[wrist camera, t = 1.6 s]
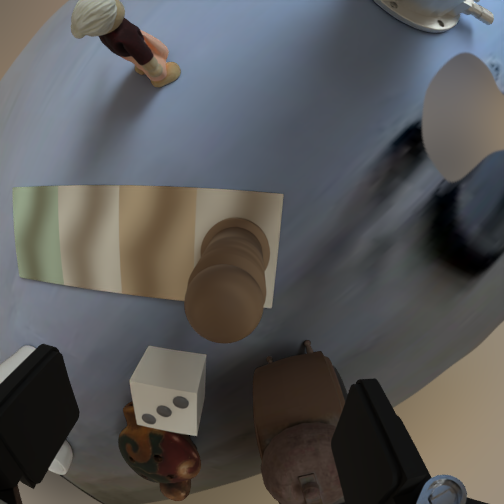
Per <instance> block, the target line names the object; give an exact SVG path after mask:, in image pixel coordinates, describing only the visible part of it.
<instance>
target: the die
mask: <svg viewBox="0 0 504 504" xmlns="http://www.w3.org/2000/svg"><path fill="white" fill-rule="evenodd" d="M205 376H206V354H199V353H191V352H185V351H178V350H172V349H166V348H160V347H154V346H148V348H147V349H146V351H145V353H144V355H143V357H142V358H141V360H140V362H139V364H138V366H137V367H136V369H135V371H134V373H133V375H132V376H131V378H130V380H129V382H130V388H131V394H132V400H133V406H134V411H135V416H136V421H137V425H141V426H146V427H150V428H155V429H160V430H165V431H170V432H175V433H181V434H187V435H193V436H197V434H198V429H199V424H200V419H201V414H202V409H203V404H204V399H205Z"/></svg>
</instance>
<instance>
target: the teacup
mask: <svg viewBox="0 0 504 504" xmlns="http://www.w3.org/2000/svg"><path fill="white" fill-rule="evenodd" d="M72 458H73V453H72V449H71V446H70V445H69V443H68V442H67V440H65V441H64V443H63V445H62V446H61V448H60V450H59V452H58V453H57V455H56V457H55V458H54V460H53V462H52V464H51V465H50V467H49V469H48V470H50V471H52V472H54V473H57V474H60V475H64V474H66V473H67V471H68V469H69V467H70V464H71V462H72Z"/></svg>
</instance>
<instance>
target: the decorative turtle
mask: <svg viewBox="0 0 504 504" xmlns="http://www.w3.org/2000/svg"><path fill="white" fill-rule="evenodd" d="M123 413H124V416H125V418H126V421H127V427H126V428H125V429H124V430H122V432H121V433H120V435H119V439H118V443H119V449H120V452H121V454H122V456H123V458H124V460H125V461H126V463H127V464H128V465H129V466H130V467H131V468H132V469H133V470H134V471H135V472H136V473H137V474H138V475H140V476H141V477H143V478H144V479H147V480H149V481H152V482H157V483H160V489H161V490H160V491H161V492H162V493H163V494H164V496H166V497H167V498H169V499H171V500H174V501H181V500H184V499H185V498H186V497H187V496H188V495H189V492H190V488H191V479H192V478H194V477H195V476H196V475H197V474H198V473H199V471H200V469H201V460H200V456H199V454H198V451H197V447H196V446H195V445H194V444H193V443H192V441H191V439H190V437H189V435H187V434H181V433H175V432H170V431H165V430H160V429H155V428H150V427H146V426H141V425H137V421H136V416H135V411H134V406H133V402H130V403H128V404H127V405H126V406H125V407H124V408H123Z"/></svg>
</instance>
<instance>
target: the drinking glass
mask: <svg viewBox="0 0 504 504" xmlns="http://www.w3.org/2000/svg"><path fill="white" fill-rule="evenodd" d="M35 349H36V348H34V347H32V346H29V345H25V346H23V347H21V348H20V349H19V350H18V351H17V352H16V353H14V354H13V355H12V356H11V357H9V358H8V359H6V360H5V361H4V362H2V363H1V364H0V384H1V383H2V382H3V381H4V380H5V379H6V378H7V377H8V376H9V375H10V374H11V373H12V372H13V371H14V370H15V369H16V368H17V367H18V366H19V365H20V364H21V363H22V362H23V361H24V360H25V359H26V358H27V357H28V356H29V355H30V354H31V353H32V352H33V351H34V350H35Z"/></svg>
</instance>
